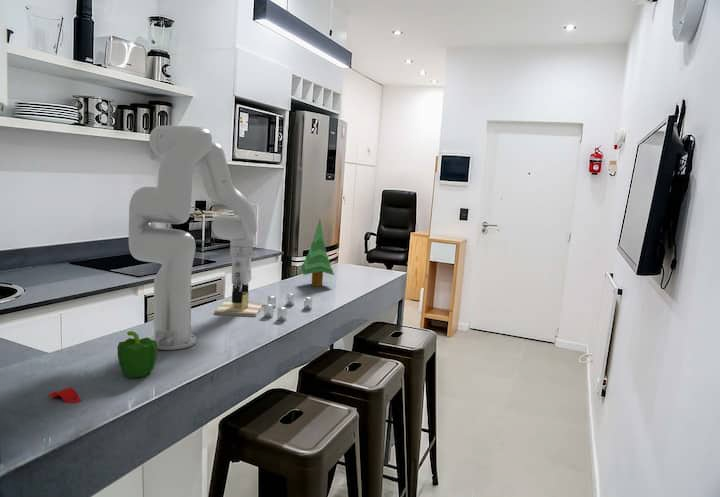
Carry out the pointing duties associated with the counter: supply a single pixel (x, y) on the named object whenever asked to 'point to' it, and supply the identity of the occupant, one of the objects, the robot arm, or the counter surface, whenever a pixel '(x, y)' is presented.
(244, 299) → the brass nut
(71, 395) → the red curved piece
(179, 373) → the counter surface
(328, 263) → the decorative tree
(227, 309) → the pad
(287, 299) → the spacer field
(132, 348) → the bell pepper
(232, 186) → the robot arm
